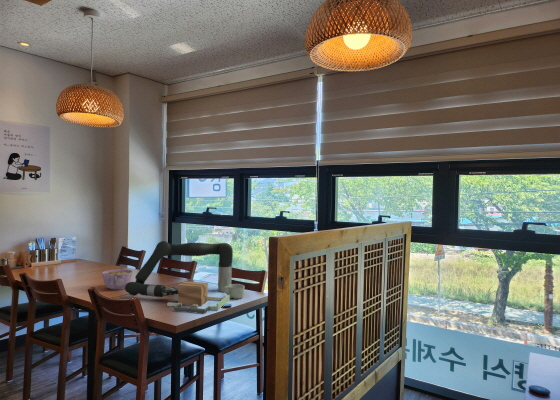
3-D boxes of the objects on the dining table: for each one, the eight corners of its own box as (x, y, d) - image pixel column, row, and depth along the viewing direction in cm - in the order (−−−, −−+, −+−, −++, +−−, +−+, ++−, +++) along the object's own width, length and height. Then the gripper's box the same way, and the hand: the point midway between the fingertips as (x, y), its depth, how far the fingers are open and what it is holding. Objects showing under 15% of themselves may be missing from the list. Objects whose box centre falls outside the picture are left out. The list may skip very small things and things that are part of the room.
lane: (182, 297, 250) (182, 291, 250) (229, 301, 244) (229, 294, 244) (161, 309, 222) (161, 302, 222) (213, 314, 216) (213, 307, 216)
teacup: (244, 295, 258) (245, 283, 258) (243, 300, 247) (244, 287, 247) (224, 295, 258) (224, 283, 258) (222, 299, 247) (222, 287, 247)
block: (184, 300, 244) (185, 281, 244) (207, 301, 241) (207, 282, 241) (177, 304, 234) (178, 284, 234) (201, 306, 231) (201, 286, 231)
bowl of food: (121, 293, 257) (121, 275, 257) (95, 290, 261) (95, 273, 261) (138, 286, 277) (138, 270, 276) (113, 284, 281) (113, 268, 280)
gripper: (150, 287, 236) (177, 288, 233) (161, 282, 249) (186, 284, 246) (150, 299, 236) (176, 301, 233) (161, 293, 249) (186, 295, 246)
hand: (181, 292), depth 239 cm, fingers closed
